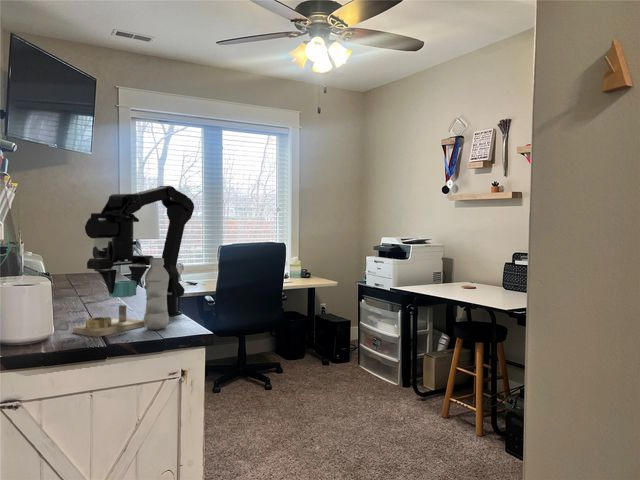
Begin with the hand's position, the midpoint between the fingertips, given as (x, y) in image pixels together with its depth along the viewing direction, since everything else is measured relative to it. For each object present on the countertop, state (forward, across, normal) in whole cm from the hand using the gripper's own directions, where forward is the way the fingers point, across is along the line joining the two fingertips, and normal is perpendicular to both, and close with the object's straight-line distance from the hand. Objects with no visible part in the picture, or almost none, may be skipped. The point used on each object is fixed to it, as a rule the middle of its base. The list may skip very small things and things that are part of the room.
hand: (122, 291), depth 131 cm
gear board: (+10, +4, 0) cm, 11 cm away
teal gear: (+1, 0, 0) cm, 1 cm away
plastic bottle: (+10, -2, +11) cm, 15 cm away
